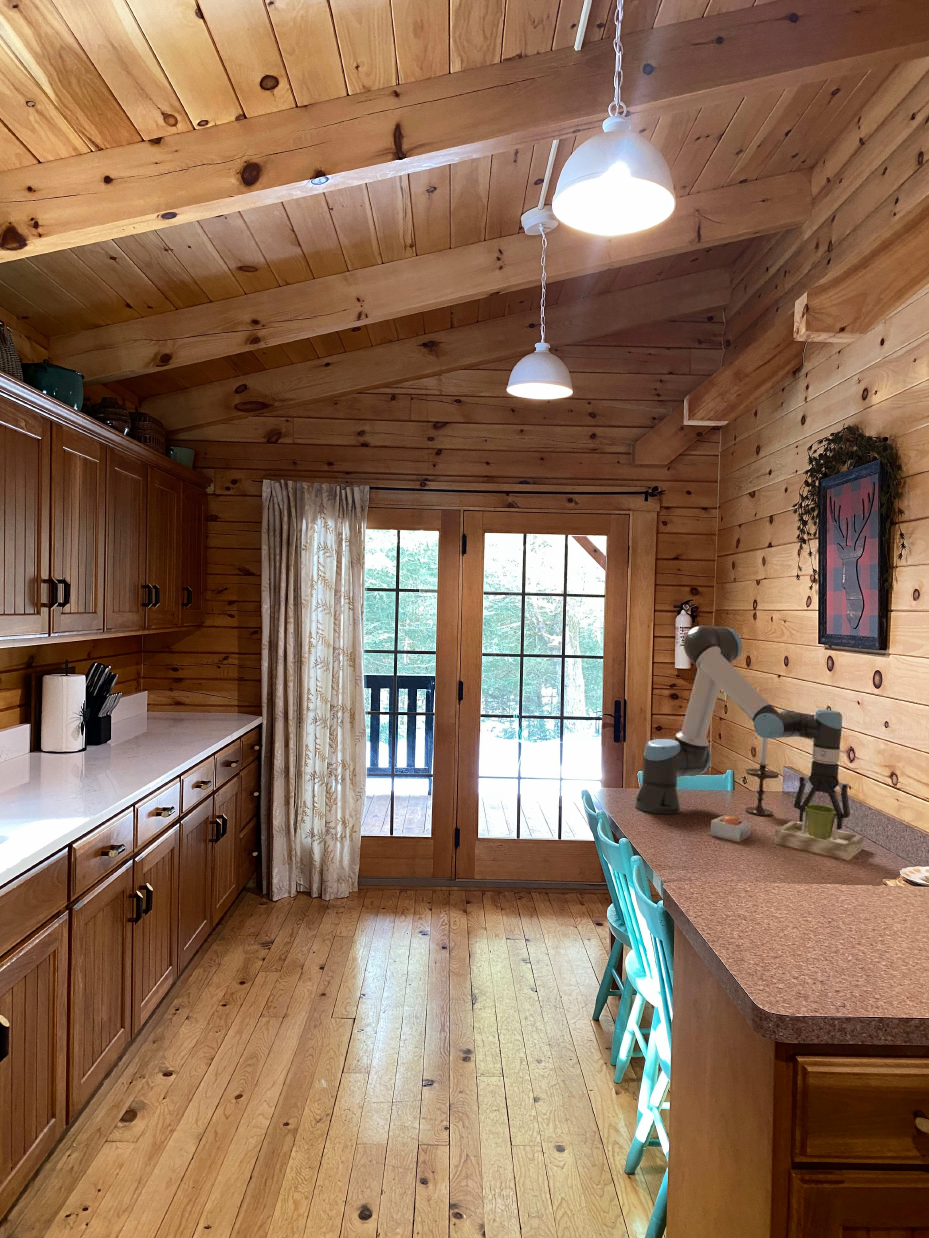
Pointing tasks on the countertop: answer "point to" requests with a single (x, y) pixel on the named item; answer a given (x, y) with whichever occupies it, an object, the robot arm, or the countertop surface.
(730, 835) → the button housing
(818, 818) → the plant pot
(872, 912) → the countertop surface
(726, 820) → the button
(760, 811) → the candlestick
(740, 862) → the countertop surface
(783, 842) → the tray
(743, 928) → the countertop surface
